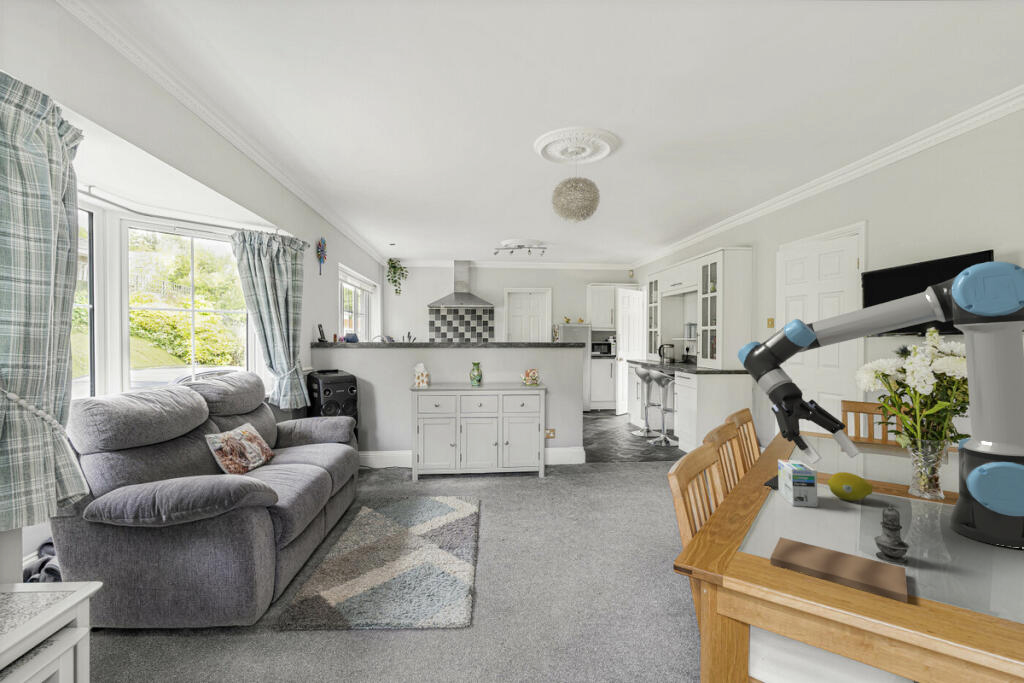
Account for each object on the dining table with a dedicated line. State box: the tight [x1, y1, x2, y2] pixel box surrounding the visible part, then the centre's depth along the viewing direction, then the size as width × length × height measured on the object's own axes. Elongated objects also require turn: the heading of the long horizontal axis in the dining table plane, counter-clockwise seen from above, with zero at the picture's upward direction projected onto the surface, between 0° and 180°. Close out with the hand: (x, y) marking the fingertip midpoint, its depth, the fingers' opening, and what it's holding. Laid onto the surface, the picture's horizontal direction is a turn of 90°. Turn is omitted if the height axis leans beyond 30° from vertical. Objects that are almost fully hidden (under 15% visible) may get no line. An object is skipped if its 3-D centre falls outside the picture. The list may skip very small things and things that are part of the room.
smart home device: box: [763, 474, 779, 492], centre depth 144 cm, size 8×2×20 cm
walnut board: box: [770, 536, 909, 604], centre depth 91 cm, size 22×12×2 cm, turn 49°
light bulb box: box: [777, 459, 819, 508], centre depth 129 cm, size 11×7×11 cm, turn 169°
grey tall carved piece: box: [873, 504, 910, 566], centre depth 95 cm, size 6×6×12 cm
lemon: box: [826, 471, 874, 502], centre depth 128 cm, size 11×8×8 cm
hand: (836, 458), depth 106 cm, fingers open, 13 cm apart
